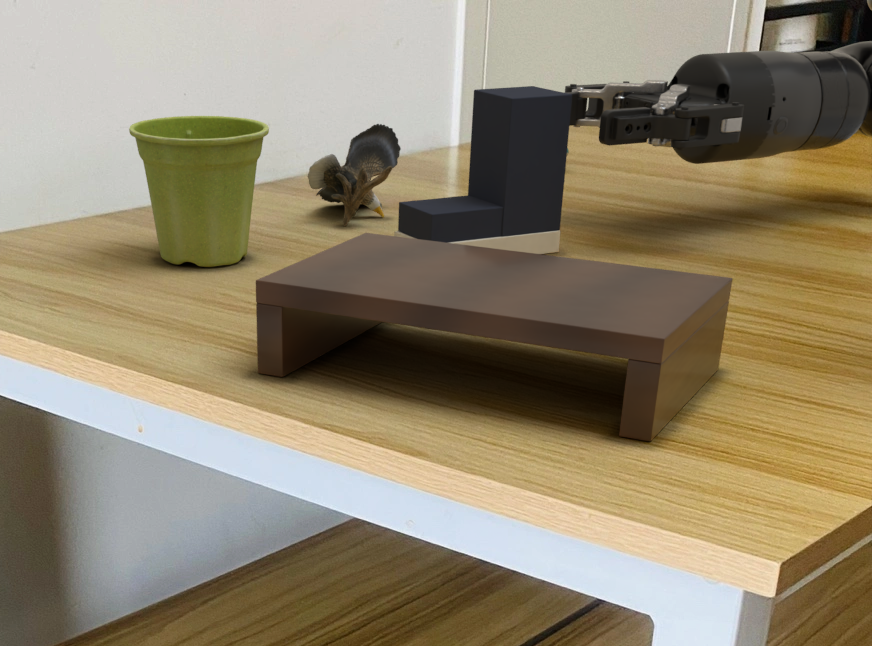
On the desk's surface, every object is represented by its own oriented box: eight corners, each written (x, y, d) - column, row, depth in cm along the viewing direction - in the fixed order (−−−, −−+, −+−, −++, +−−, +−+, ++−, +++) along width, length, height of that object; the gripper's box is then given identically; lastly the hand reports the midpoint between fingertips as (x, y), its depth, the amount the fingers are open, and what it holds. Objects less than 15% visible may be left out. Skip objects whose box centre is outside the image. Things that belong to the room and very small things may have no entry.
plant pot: (295, 263, 96) (294, 130, 91) (173, 280, 92) (166, 141, 87) (232, 237, 103) (228, 112, 98) (116, 252, 98) (106, 121, 94)
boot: (520, 238, 103) (532, 85, 98) (558, 252, 99) (573, 94, 94) (393, 252, 99) (398, 94, 93) (428, 267, 95) (436, 103, 90)
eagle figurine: (419, 212, 105) (421, 168, 112) (369, 131, 101) (374, 90, 108) (336, 263, 108) (343, 217, 115) (285, 186, 104) (295, 143, 111)
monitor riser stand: (718, 369, 76) (732, 277, 73) (650, 442, 66) (664, 338, 63) (363, 316, 85) (365, 232, 82) (257, 373, 75) (255, 280, 72)
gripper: (688, 42, 107) (515, 51, 101) (820, 62, 96) (635, 72, 90) (675, 145, 111) (507, 159, 105) (800, 174, 100) (621, 193, 94)
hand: (566, 119), depth 97 cm, fingers open, 8 cm apart
